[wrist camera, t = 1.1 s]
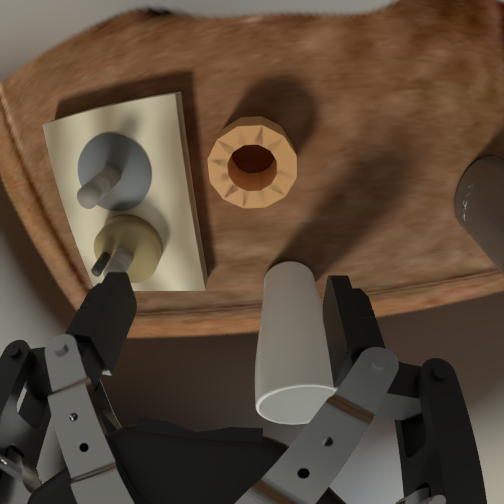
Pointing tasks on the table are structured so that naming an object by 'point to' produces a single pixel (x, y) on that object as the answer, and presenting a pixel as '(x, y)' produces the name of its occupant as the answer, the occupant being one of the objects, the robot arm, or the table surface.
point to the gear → (252, 184)
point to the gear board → (131, 192)
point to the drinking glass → (291, 347)
